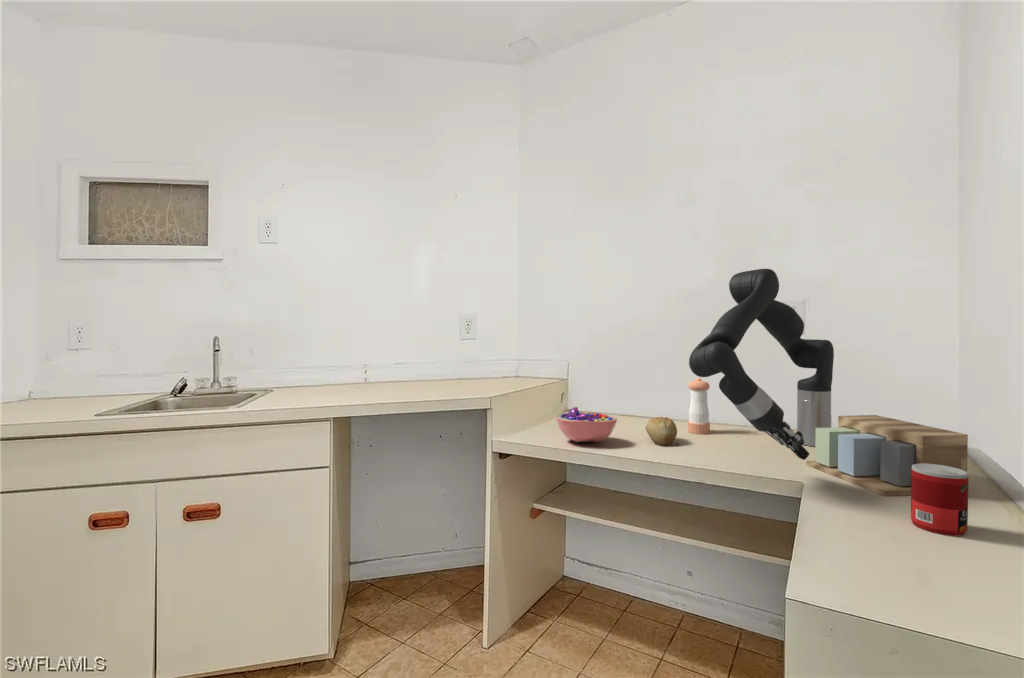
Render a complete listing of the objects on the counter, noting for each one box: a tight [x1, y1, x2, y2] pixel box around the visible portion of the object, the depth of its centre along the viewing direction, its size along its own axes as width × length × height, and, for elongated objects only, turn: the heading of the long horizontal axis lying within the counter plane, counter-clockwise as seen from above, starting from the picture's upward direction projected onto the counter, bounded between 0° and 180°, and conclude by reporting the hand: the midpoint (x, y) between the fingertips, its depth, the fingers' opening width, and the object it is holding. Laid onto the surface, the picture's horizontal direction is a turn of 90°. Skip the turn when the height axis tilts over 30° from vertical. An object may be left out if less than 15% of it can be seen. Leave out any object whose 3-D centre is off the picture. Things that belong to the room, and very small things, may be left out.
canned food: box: [910, 463, 969, 537], centre depth 91 cm, size 8×8×11 cm
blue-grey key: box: [838, 434, 886, 476], centre depth 121 cm, size 5×10×9 cm, turn 96°
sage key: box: [814, 426, 860, 467], centre depth 129 cm, size 5×10×9 cm, turn 96°
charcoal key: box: [880, 441, 916, 486], centre depth 114 cm, size 5×10×9 cm, turn 96°
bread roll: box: [645, 416, 678, 447], centre depth 162 cm, size 10×15×8 cm, turn 176°
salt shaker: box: [687, 377, 711, 435], centre depth 176 cm, size 7×7×19 cm
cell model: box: [555, 406, 618, 443], centre depth 161 cm, size 17×20×11 cm
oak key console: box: [806, 414, 969, 497], centre depth 122 cm, size 25×20×13 cm
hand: (804, 456), depth 120 cm, fingers closed
